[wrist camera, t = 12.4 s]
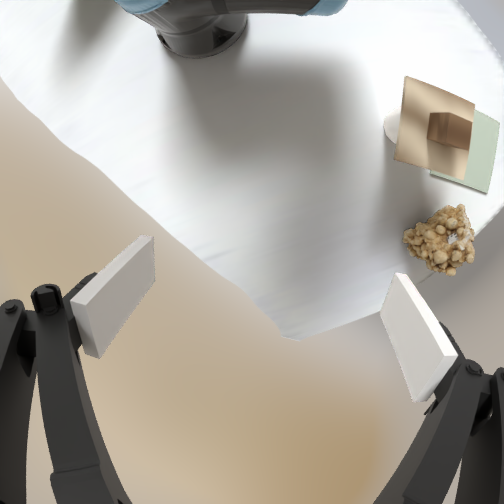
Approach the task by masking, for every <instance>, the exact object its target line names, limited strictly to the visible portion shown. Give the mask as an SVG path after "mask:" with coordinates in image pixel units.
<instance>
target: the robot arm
mask: <svg viewBox="0 0 504 504" xmlns="http://www.w3.org/2000/svg"><path fill="white" fill-rule="evenodd" d="M114 1H115V2H116V3H118V4H119V5H120V6H122V8H123V9H124V10H125V11H126V12H128V13H130V14H133V15H135V16H136V17H138V18H140V19H141V20H143V21H145V22H147V23H148V24H150V25H152V26H153V27H155V29H156V33H157V36H158V38H159V40H160V41H161V43H162V44H163V45H164V46H165V47H166V48H168V49H169V50H171V51H172V52H174V53H176V54H178V55H180V56H183V57H188V58H203V57H209V56H212V55H215V54H218V53H220V52H222V51H224V50H225V49H227V48H228V47H230V46H231V45H232V44H233V43H234V42H235V41H236V40H237V39H238V38H239V37H240V35H241V34H242V32H243V30H244V28H245V25H246V21H247V14H248V13H276V14H296V15H298V16H307V15H319V16H329V15H333V14H336V13H338V12H339V11H340V10H341V9H342V8H343V7H344V6H345V4H346V3H347V1H348V0H114ZM154 267H155V266H154V237H151V236H144V235H140V236H139V237H138V238H137V239H136V240H135V241H134V242H132V243H131V244H130V245H129V246H128V247H127V248H126V249H124V250H123V251H122V252H121V253H120V254H119V255H118V256H117V257H115V258H114V259H113V260H112V261H111V262H110V263H109V264H108V265H107V266H106V267H105V268H104V269H102V270H101V271H100V272H99V273H95V272H94V273H92V274H90V275H88V276H86V277H85V278H84V279H82V280H81V281H80V282H79V284H77V285H76V286H75V287H74V288H73V289H72V290H71V291H70V292H69V293H67V294H66V295H65V296H64V297H63V298H62V296H61V291H60V288H59V287H58V286H57V285H54V284H44V285H41V286H39V287H37V288H35V289H34V290H33V292H32V293H31V299H32V302H33V305H34V309H35V311H31V310H25V308H24V305H23V302H22V301H20V300H16V299H13V300H9V301H6V302H5V303H3V304H2V305H1V306H0V504H26V453H27V439H28V428H29V419H30V410H31V403H32V397H33V390H34V385H35V379H36V374H37V373H38V385H39V394H40V402H41V409H42V416H43V422H44V428H45V433H46V438H47V443H48V448H49V452H50V456H51V460H52V464H53V469H54V472H53V473H52V474H51V475H50V481H51V486H52V489H53V493H54V496H55V499H56V502H57V504H132V502H131V501H130V499H129V498H128V496H127V494H126V492H125V491H124V489H123V486H122V484H121V482H120V480H119V478H118V475H117V473H116V471H115V469H114V466H113V464H112V461H111V459H110V456H109V454H108V451H107V449H106V446H105V443H104V441H103V438H102V435H101V432H100V429H99V426H98V423H97V420H96V417H95V414H94V411H93V407H92V404H91V401H90V397H89V393H88V390H87V386H86V382H85V379H84V374H83V370H82V366H81V361H80V356H79V353H78V348H79V347H80V346H81V344H82V346H83V349H84V351H85V354H87V355H90V356H93V357H95V358H98V359H100V358H101V357H102V355H103V354H104V352H105V350H106V349H107V348H108V346H109V345H110V343H111V342H112V340H113V339H114V337H115V336H116V334H117V333H118V332H119V330H120V329H121V327H122V326H123V324H124V323H125V322H126V320H127V319H128V318H129V316H130V315H131V313H132V312H133V311H134V309H135V308H136V306H137V305H138V304H139V302H140V301H141V299H142V298H143V297H144V295H145V294H146V293H147V291H148V290H149V289H150V287H151V286H152V285H153V283H154V282H155V268H154ZM380 316H381V319H382V321H383V323H384V326H385V328H386V331H387V333H388V336H389V338H390V341H391V343H392V346H393V348H394V351H395V353H396V356H397V359H398V361H399V364H400V367H401V369H402V372H403V375H404V378H405V381H406V383H407V386H408V388H409V392H410V395H411V398H412V401H413V402H423V401H427V400H428V399H429V398H430V396H431V395H432V394H433V392H434V394H435V396H436V399H435V401H434V402H433V403H432V405H431V406H430V407H429V408H428V409H427V411H426V412H425V413H424V415H426V414H427V415H426V418H425V420H424V422H423V424H422V426H421V428H420V430H419V432H418V433H417V435H416V437H415V439H414V441H413V443H412V444H411V446H410V448H409V450H408V451H407V453H406V455H405V456H404V458H403V460H402V461H401V463H400V465H399V467H398V468H397V470H396V471H395V473H394V474H393V476H392V477H391V479H390V480H389V482H388V483H387V485H386V486H385V488H384V489H383V490H382V492H381V493H380V495H379V496H378V497H377V499H376V500H375V501H374V503H373V504H442V503H443V500H444V498H445V496H446V494H447V492H448V490H449V488H450V485H451V483H452V481H453V478H454V476H455V474H456V471H457V469H458V466H459V463H460V461H461V458H462V463H461V470H460V477H459V483H458V489H457V494H456V499H455V504H504V368H502V367H500V368H498V369H497V370H496V372H495V373H494V375H488V374H484V371H483V369H482V368H481V366H480V365H479V364H478V363H476V362H475V361H472V360H469V359H465V357H464V355H463V353H462V352H461V350H460V348H459V346H458V345H457V343H456V342H455V340H454V338H453V337H452V336H451V333H450V332H449V330H448V329H447V328H446V327H445V326H444V325H443V324H442V323H441V322H438V321H437V319H436V318H435V316H434V314H433V313H432V311H431V310H430V308H429V307H428V305H427V304H426V302H425V301H424V299H423V298H422V296H421V295H420V293H419V292H418V290H417V289H416V287H415V286H414V284H413V283H412V282H411V280H410V279H409V277H408V276H407V274H401V273H394V276H393V279H392V282H391V285H390V287H389V290H388V293H387V296H386V298H385V301H384V303H383V306H382V309H381V311H380ZM491 414H492V416H491V418H490V415H491Z"/></svg>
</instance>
